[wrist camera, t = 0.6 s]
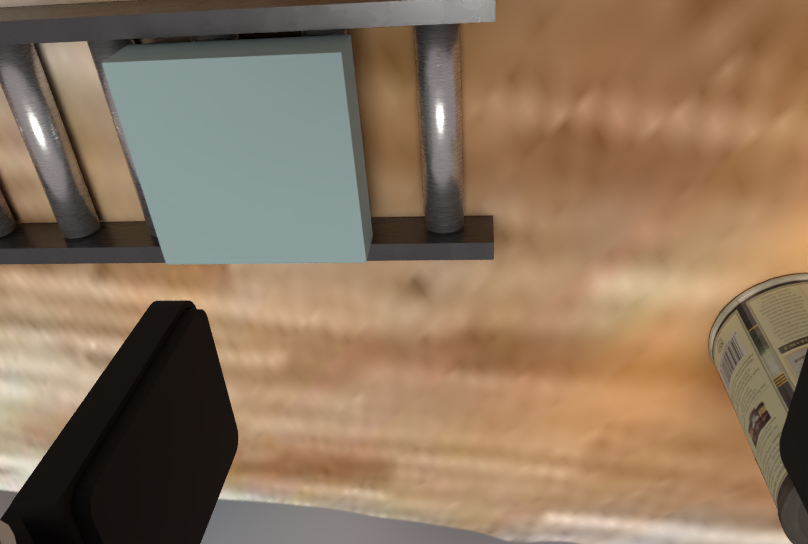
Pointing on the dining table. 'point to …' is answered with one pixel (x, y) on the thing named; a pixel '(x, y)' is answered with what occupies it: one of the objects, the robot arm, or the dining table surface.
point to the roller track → (212, 21)
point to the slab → (247, 148)
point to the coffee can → (766, 378)
